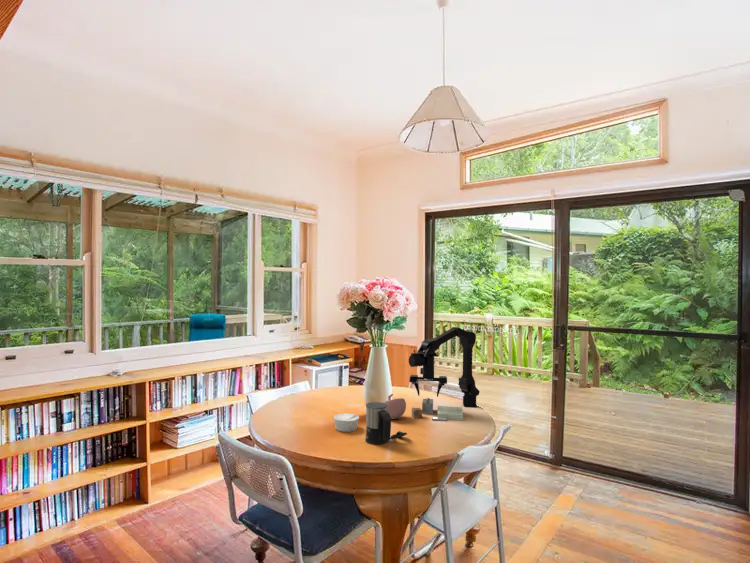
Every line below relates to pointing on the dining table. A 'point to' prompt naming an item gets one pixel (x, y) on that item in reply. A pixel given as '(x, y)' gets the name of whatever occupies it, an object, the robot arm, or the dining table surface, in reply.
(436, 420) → the steel pin
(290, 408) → the dining table surface
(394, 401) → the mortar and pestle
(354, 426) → the ramekin
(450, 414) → the pale green flat slab
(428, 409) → the block
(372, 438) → the milk frother
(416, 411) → the walnut block
